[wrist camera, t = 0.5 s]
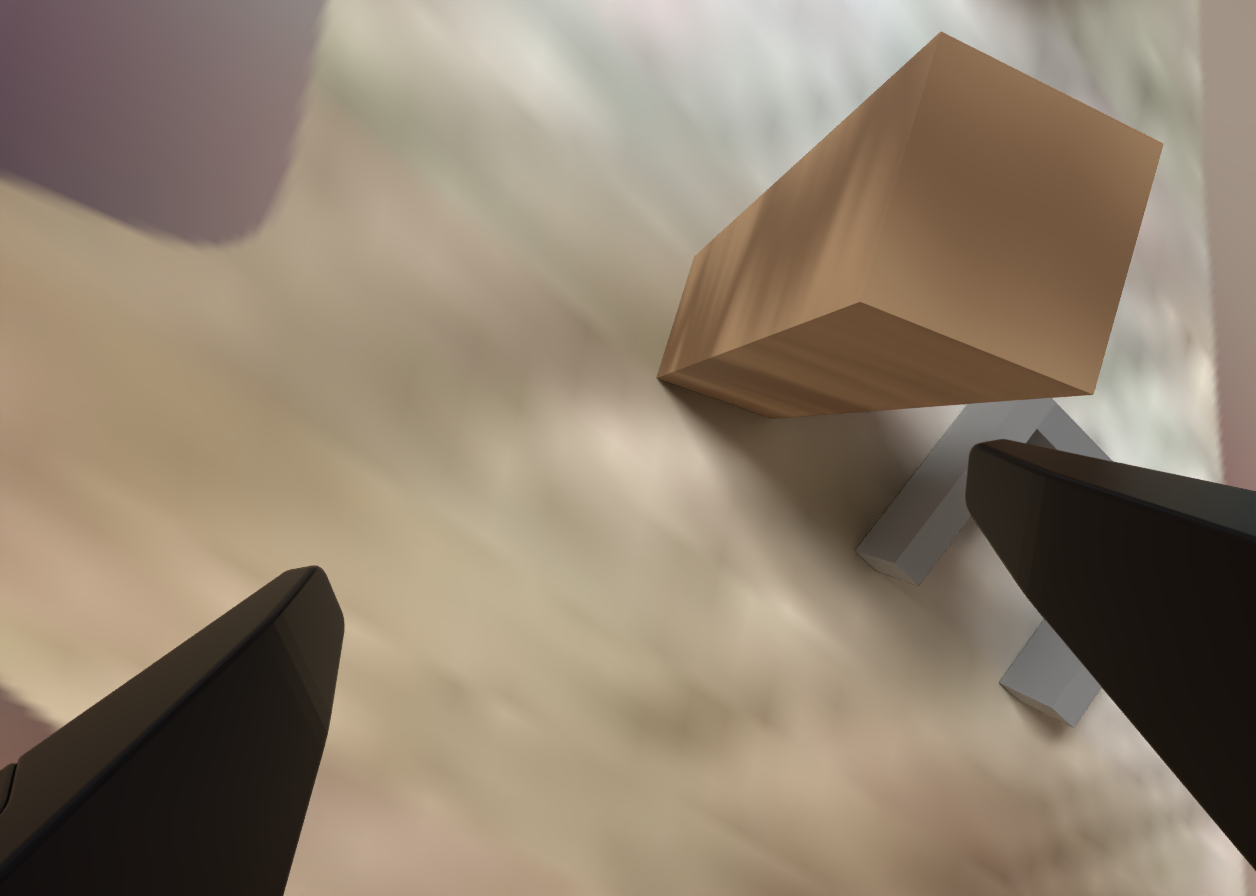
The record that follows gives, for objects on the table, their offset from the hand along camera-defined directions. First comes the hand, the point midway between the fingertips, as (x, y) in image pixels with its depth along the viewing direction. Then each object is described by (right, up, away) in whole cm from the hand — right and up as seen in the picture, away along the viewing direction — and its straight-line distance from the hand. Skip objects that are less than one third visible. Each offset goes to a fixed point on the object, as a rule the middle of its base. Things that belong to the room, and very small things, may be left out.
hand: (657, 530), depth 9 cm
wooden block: (+3, +5, +14) cm, 16 cm away
